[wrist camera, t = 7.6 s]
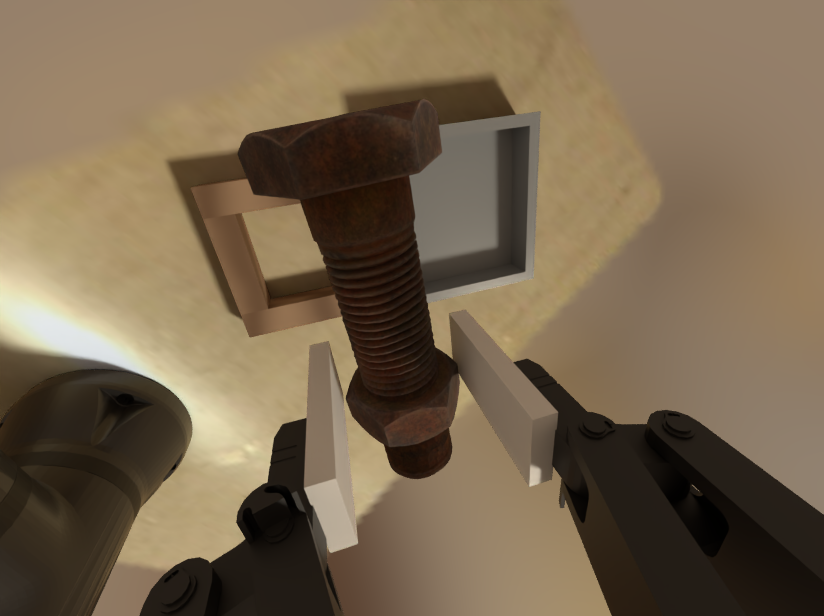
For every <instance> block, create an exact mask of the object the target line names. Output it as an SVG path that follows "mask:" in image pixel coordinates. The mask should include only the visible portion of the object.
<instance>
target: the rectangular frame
mask: <svg viewBox="0 0 824 616" xmlns="http://www.w3.org/2000/svg"><path fill="white" fill-rule="evenodd" d="M191 191H192V193H193V196H194V198H195V201H196V203H197V206H198V208H199V211H200V213H201V216H202V218H203V221H204V223H205V226H206V228H207V231H208V233H209V236H210V239H211V241H212V244H213V246H214V249H215V251H216V254H217V256H218V259H219V261H220V264H221V266H222V269H223V271H224V274H225V276H226V279H227V281H228V284H229V286H230V289H231V291H232V294H233V297H234V299H235V302H236V304H237V307H238V309H239V312H240V314H241V317H242V319H243V322H244V324H245V327H246V329H247V332H248V334H249V337H254V336H258V335H263V334H267V333H271V332H276V331H280V330H285V329H289V328H293V327H298V326H302V325H306V324H311V323H315V322H319V321H324V320H328V319H332V318H337V317H341V316H342V315H341V313H340V310H341V309H339V306H338V300H337V299H336V298H335V292H334V291H333V289H332V286H330V287H325V288H320V289H316V290H311V291H306V292H301V293H297V294H292V295H287V296H283V297H278V298H273V299H271V298H270V295H269V292H268V289H267V286H266V283H265V280H264V277H263V274H262V272H261V269H260V266H259V263H258V260H257V257H256V254H255V251H254V248H253V245H252V242H251V239H250V237H249V234H248V231H247V228H246V225H245V222H244V219H243V216H242V213H244V212H250V211H256V210H262V209H268V208H274V207H280V206H286V205H292V204H298V203H301V202H300V200H299V199H289V198H279V197H269V196H259V195H254V194H253V192H252V190H251V187H250V184H249V182H248V179H247V178H241V179H234V180H227V181H221V182H214V183H207V184H200V185H197V186H194V187H191Z"/></svg>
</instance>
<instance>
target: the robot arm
mask: <svg viewBox="0 0 824 616" xmlns="http://www.w3.org/2000/svg"><path fill="white" fill-rule="evenodd" d="M449 319H450V331H451V343H452V355H453V360H454V361H455V362H456V363H457V365H458V372H459V374H460V376H461V378H462V379H463V381H464V382H465V384H466V386H467V387H468V389H469V391H470V392H471V394H472V395H473V397H474V399H475V400H476V402H477V403H478V405H479V407H480V408H481V410H482V411H483V413H484V415H485V416H486V418H487V420H488V421H489V423H490V424H491V426H492V428H493V429H494V431H495V433H496V434H497V436H498V437H499V439H500V441H501V442H502V444H503V445H504V447H505V449H506V450H507V452H508V454H509V455H510V457H511V458H512V460H513V462H514V463H515V465H516V466H517V468H518V470H519V471H520V473H521V475H522V476H523V478H524V479H525V481H526V483H527V484H528V486H529V487H530V486H533V485H537V484H539V483H542V482H546V481H549V480H552V473H553V467H554V468H555V470H556V471H557V472H558V474H559V475H560V476H561V478H562V479H561V488H560V496H559V504H560V508H564V505H565V500H566V502H567V505H568V507H569V510H570V512H571V515H572V517H573V520H574V522H575V525H576V527H577V530H578V532H579V535H580V537H581V540H582V543H583V545H584V548H585V550H586V552H587V555H588V558H589V560H590V563H591V565H592V568H593V570H594V573H595V575H596V578H597V580H598V582H599V585H600V588H601V590H602V592H603V595H604V598H605V600H606V603H607V605H608V608H609V610H610V613H611V615H612V616H824V515H823V514H822V513H820V512H819V511H818V510H816V509H815V508H813V507H812V506H811V505H810V504H808V503H807V502H806V501H804V500H803V499H802V498H800V497H799V496H798V495H796V494H795V493H793V492H792V491H791V490H789V489H788V488H787V487H786V486H784V485H783V484H782V483H780V482H779V481H778V480H776V479H775V478H773V477H772V476H771V475H769V474H768V473H767V472H765V471H764V470H763V469H761V468H760V467H759V466H757V465H756V464H755V463H753V462H752V461H751V460H749V459H748V458H746V457H745V456H744V455H742V454H741V453H740V452H739V451H737V450H736V449H735V448H733V447H732V446H730V445H729V444H728V443H726V442H725V441H724V440H722V439H721V438H720V437H718V436H717V435H716V434H714V433H713V432H712V431H710V430H709V429H708V428H706V427H705V426H704V425H702V424H701V423H700V422H698V421H696V420H695V419H693V418H691V417H690V416H688V415H685V414H682V413H679V412H676V411H669V410H662V411H656V412H654V413H652V414H651V415H650V417H649V419H648V422H647V424H637V425H636V424H627V425H626V424H624V425H622V424H615V423H614V422H613V421H612V420H610V419H608V418H607V417H605V416H603V415H600V414H597V413H593V412H587V411H586V410H585V409H584V408H583V407H582V406H581V405H580V404H579V403H578V402H577V401H576V400H575V399H574V398H573V397H572V396H571V395H570V394H569V393H568V392H567V391H566V390H565V389H564V388H563V387H562V386H561V385H560V384H557V381H556V380H555V379H553V377H551V376H549V374H548V373H547V372H546V371H545V370H544V369H543V368H542V367H541V366H540V365H539V364H537V363H534V362H533V361H531V360H529V359H524V360H520V361H517V362H512V361H511V359H510V358H509V357H508V356H507V355H506V354H505V353H504V352H503V351H502V349H501V348H500V347H499V346H498V345H497V344H496V343H495V342H494V341H493V339H492V338H491V337H490V336H489V335H488V334H487V333H486V332H485V331H484V329H483V328H482V327H481V326H480V325H479V324H478V323H477V322H476V321H475V320H474V318H473V317H472V316H471V315H470V314H469V313H468V312H467V311H466V310H461V311H457V312H452V313H449ZM191 437H192V422H191V418H190V415H189V413H188V411H187V409H186V408H185V406H184V405H183V403H182V402H181V401H180V400H179V399H178V398H177V397H176V396H175V395H174V394H173V393H172V392H170V391H169V390H168V389H166V388H164V387H163V386H161V385H159V384H158V383H156V382H154V381H151V380H149V379H147V378H144V377H141V376H138V375H135V374H131V373H126V372H121V371H114V370H98V369H95V370H81V371H74V372H69V373H65V374H61V375H58V376H55V377H52V378H50V379H48V380H46V381H44V382H42V383H40V384H38V385H37V386H35V387H34V388H33V389H31V390H30V391H29V392H28V393H27V394H25V395H24V396H23V397H22V398H21V399H20V400H18V401H17V402H16V403H15V404H14V405H13V406H12V407H11V408H10V409H9V410H8V412H7V413H6V414H5V415H4V417H3V418H2V420H1V422H0V616H91V615H92V613H93V611H94V608H95V606H96V604H97V602H98V600H99V598H100V595H101V593H102V591H103V589H104V587H105V584H106V582H107V580H108V578H109V576H110V573H111V571H112V569H113V566H114V565H115V562H116V560H117V558H118V556H119V553H120V551H121V549H122V547H123V545H124V542H125V540H126V538H127V536H128V534H129V531H130V529H131V527H132V524H133V522H134V520H135V518H136V516H137V514H138V512H139V510H140V508H141V507H142V506H143V505H144V504H145V503H146V502H147V501H148V499H149V498H150V497H151V496H152V495H153V494H154V493H155V492H156V491H157V489H158V488H159V487H160V486H161V484H162V483H163V482H164V481H165V480H166V479H167V478H168V477H170V476H171V474H172V473H173V472H174V471H175V470H176V469H177V468H178V466H179V465H180V463H181V462H182V460H183V458H184V456H185V453H186V451H187V448H188V446H189V443H190V441H191ZM270 463H271V466H270V469H269V476H268V482H267V483H265V484H263V485H261V486H260V487H258V488H257V489H255V490H254V491H252V493H251V494H250V495H249V496H248V497H247V498H246V499H245V500H244V501H243V503H242V505H241V507H240V509H239V511H238V514H237V521H236V523H237V525H238V526H239V528H240V530H241V531H242V533H243V535H244V537H245V538H246V539H245V540H244V541H243V542H242V543H240V544H239V545H238V546H236V547H235V548H233V549H232V550H230V551H229V552H227V553H225V554H224V555H222V556H221V557H219V558H217V559H216V560H214V561H213V562H211V563H209V561H208V560H205V559H202V558H200V557H199V558H192V559H187V560H185V561H183V562H181V563H179V564H177V565H175V566H174V567H173V568H172V569H170V570H169V571H168V572H167V573H165V574H164V575H163V576H162V577H161V578H160V580H159V581H158V582H157V583H156V584H155V586H154V587H153V588H152V589H151V591H150V593H149V595H148V597H147V599H146V601H145V603H144V605H143V608H142V610H141V613H140V616H344V613H343V610H342V606H341V604H340V600H339V597H338V593H337V590H336V587H335V583H334V580H333V577H332V574H331V571H330V568H329V566H328V563H327V546H328V548H329V551H330V553H332V552H335V551H338V550H341V549H343V548H347V547H350V546H353V545H356V544H358V538H357V529H356V519H355V509H354V499H353V489H352V479H351V469H350V459H349V449H348V439H347V430H346V420H345V410H344V400H343V392H342V388H341V385H340V381H339V377H338V374H337V370H336V366H335V363H334V359H333V356H332V352H331V348H330V345H329V341H327V342H323V343H318V344H314V345H310V351H309V375H308V399H307V418H305V419H301V420H297V421H293V422H290V423H286V424H282V426H281V428H280V429H279V431H278V432H277V434H276V436H275V437H274V442H273V449H272V456H271V462H270ZM692 484H693V485H694V486H695V487H696V488H697V489H698V490H699V491H700V492H699V491H698V490H696V489H695V488H694V487H693V486H692Z"/></svg>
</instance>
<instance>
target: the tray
mask: <svg viewBox="0 0 824 616" xmlns="http://www.w3.org/2000/svg"><path fill="white" fill-rule="evenodd" d="M439 129H440V138H441V146H442V153H441V154H440V155H439V156H438V157H437V158H436V159H435V160H434V161H432V162H431V163H430V164H429V165H428V166H427V167H426V168H424V169H423V170H422V171H421V172H420V173H418V174H414V175H409V177H410V184H411V190H412V197H413V203H414V210H415V220H414V232H415V233H416V241H417V244H418V251H419V255H420V256H419V259H420V265H421V270H422V272H423V274H422V277H423V279H424V286H425V293H426V296H427V303H431V302H435V301H439V300H443V299H448V298H452V297H456V296H461V295H465V294H469V293H473V292H478V291H482V290H486V289H491V288H495V287H499V286H504V285H508V284H512V283H516V282H521V281H525V280H529V279H534V255H535V231H536V207H537V183H538V158H539V134H540V112H532V113H525V114H517V115H510V116H503V117H495V118H488V119H480V120H473V121H466V122H458V123H451V124H443V125H439Z"/></svg>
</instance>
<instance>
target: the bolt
mask: <svg viewBox="0 0 824 616" xmlns="http://www.w3.org/2000/svg"><path fill="white" fill-rule="evenodd" d="M441 153H442V146H441V138H440V129H439V121H438V113H437V111H436V110H435V108H434V106H433V105H432V104H431V103H430V102H429V101H428V100H426V99H422V100H418V101H412V102H407V103H402V104H396V105H391V106H385V107H380V108H374V109H369V110H364V111H358V112H353V113H347V114H343V115H339V116H335V117H331V118H326V119H321V120H316V121H310V122H305V123H300V124H295V125H290V126H285V127H280V128H275V129H269V130H264V131H259V132H254V133H250V134H248V135H246V137H245V138H244V140H243V141H242V143H241V145H240V148H239V151H238V156H239V159H240V161H241V164H242V167H243V169H244V172H245V174H246V177H247V179H248V182H249V184H250V187H251V190H252V192H253V194H254V195H259V196H269V197H279V198H289V199H299V200H300V202H301V205H302V208H303V211H304V214H305V216H306V219H307V222H308V225H309V228H310V231H311V234H312V237H313V239H314V241H315V242H317V244H318V246H319V249H320V252H321V254H322V255H323V261H324V263H325V265H326V269H327V272H328V274H329V280H330V282H331V283H332V289H333V291H334V292H335V298H336V299H337V300H338V306H339V309H341V310H340V313H341V315H342V316H343V322H344V325H345V328H346V331H347V333H348V336H349V340H350V342H351V346H352V350H353V351H354V357H355V359H356V362H357V365H358V368H357V370H356V371H355V373H354V375H353V378H352V380H351V382H350V385H349V388H348V392H347V395H346V401H347V403H348V406H349V409H350V411H351V414H352V416H353V418H354V419H355V420H356V421H357V422H358V423H359V424H360V425H361V426H362V428H364V429H365V430H366V431H367V432H368V433H369V434H370V435H371V436H372V437H374V438H375V439H376V440H378V441H379V442H381V443H383V444H384V446H385V451H386V453H387V457H388V460H389V463H390V466H391V468H392V469H393V470H394V471H395V472H396V473H397V474H399V475H402V476H404V477H407V478H411V479H421V478H425V477H429V476H431V475H433V474H435V473H436V472H438V471H439V470H441V469H442V468H443V467H444V466H445V465H446V464H447V463H448V461H449V460H450V457H451V454H452V443H451V437H450V433H449V427H450V426H451V424H452V421H453V419H454V415H455V411H456V407H457V401H458V394H459V384H460V380H459V372H458V365H457V363H456V362H455V361H454V360H453V359H451V358H450V357H449V356H448V355H447V354H445V353H444V352H442V351H441V350H439V349H437V348H436V347H435V345H434V339H433V333H432V326H431V319H430V316H429V314H430V313H429V310H428V303H427V296H426V293H425V286H424V279H423V277H422V274H423V272H422V270H421V265H420V259H419V256H420V255H419V251H418V244H417V241H416V233H415V232H414V220H415V210H414V203H413V197H412V190H411V184H410V177H409V175H414V174H418V173H420V172H421V171H422V170H423V169H424V168H426V167H427V166H428V165H429V164H430V163H431V162H432V161H434V160H435V159H436V158H437V157H438V156H439V155H440V154H441Z"/></svg>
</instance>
